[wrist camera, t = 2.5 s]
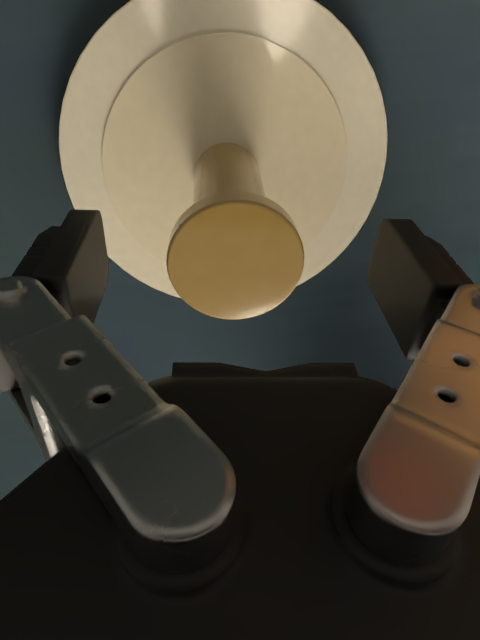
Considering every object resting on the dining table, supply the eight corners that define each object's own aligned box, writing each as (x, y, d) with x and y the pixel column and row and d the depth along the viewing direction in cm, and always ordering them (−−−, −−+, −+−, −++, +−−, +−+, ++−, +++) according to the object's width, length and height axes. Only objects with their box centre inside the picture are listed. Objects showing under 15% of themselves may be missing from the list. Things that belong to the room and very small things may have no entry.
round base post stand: (-3, 158, 17) (-110, 261, 11) (238, -146, 12) (266, -242, 6) (219, 334, 23) (224, 459, 17) (436, 174, 18) (543, 272, 12)
